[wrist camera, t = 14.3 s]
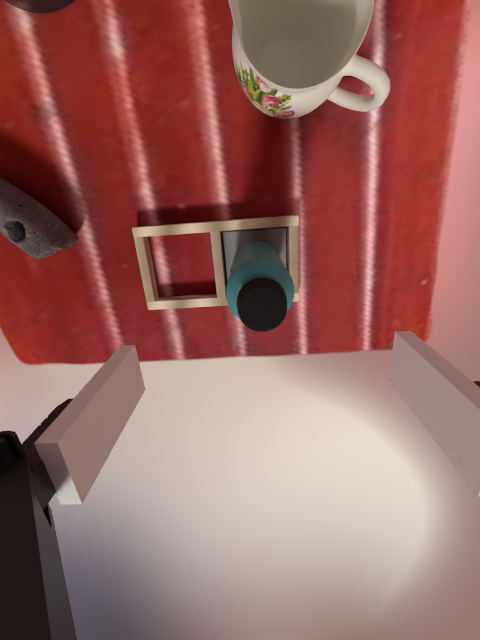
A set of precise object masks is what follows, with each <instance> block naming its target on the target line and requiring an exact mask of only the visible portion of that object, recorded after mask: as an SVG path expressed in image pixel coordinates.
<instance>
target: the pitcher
mask: <svg viewBox="0 0 480 640" xmlns="http://www.w3.org/2000/svg"><path fill="white" fill-rule="evenodd" d="M374 1H375V0H228V2H229V5H230V8H231V13H232V18H233V31H232V51H233V60H234V65H235V70H236V74H237V77H238V80H239V83H240V85H241V87H242V89H243V91H244V93H245V94H246V96H247V98H248V99H249V100H250V102H251V103H252V104H253V105H254V106H255V107H256V108H257V109H258V110H260V111H261V112H262V113H264V114H266V115H268V116H271V117H274V118H278V119H293V118H297V117H301V116H303V115H305V114H307V113H309V112H311V111H313V110H314V109H316V108H317V107H318V106H319V105H321V104H322V103H323V102H324V101H325V100H326V99H328V100H330V101H332V102H334V103H336V104H338V105H340V106H342V107H345V108H348V109H351V110H355V111H361V112H367V111H372V110H374V109H376V108H378V107H379V106H380V105H382V104H383V102H384V101H385V99H386V98H387V96H388V94H389V91H390V80H389V77H388V75H387V74H386V72H385V71H384V70H383V69H382V68H381V67H380V66H378V65H377V64H376V63H374V62H372V61H370V60H368V59H366V58H363V57H361V56H358V55H357V54H356V52H357V51H358V49H359V47H360V46H361V44H362V42H363V39H364V37H365V35H366V33H367V30H368V27H369V24H370V21H371V17H372V13H373V8H374ZM343 76H353V77H356V78H358V79H360V80H362V81H364V82H365V83H367V84H368V85H369V86H370V87H371V88H372V90H373V92H374V94H372V95H359V94H355V93H351V92H348V91H346V90H343V89H341V88H339V87H337V85H338V84H339V82H340V81H341V79H342V77H343Z"/></svg>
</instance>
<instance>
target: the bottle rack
mask: <svg viewBox="0 0 480 640" xmlns="http://www.w3.org/2000/svg"><path fill="white" fill-rule="evenodd" d="M285 226H287V233H288V272H289V274H290V276H291V278H292V280H293V283H294V299H293V302H294V301H299V216H298V215H288V216H275V217H261V218H248V219H235V220H221V221H208V222H194V223H181V224H168V225H154V226H141V227H134V228H132V231H133V236H134V241H135V246H136V251H137V256H138V261H139V266H140V271H141V276H142V281H143V286H144V291H145V296H146V301H147V306H148V310H155V309H173V308H190V307H207V306H225V305H228V302H227V298H226V280H225V269H224V258H223V247H222V236H221V231H230V230H244V229H257V228H271V227H285ZM202 232H210V234H211V243H212V253H213V262H214V272H215V281H216V291H217V294H206V295H190V296H173V297H159V295H158V289H157V284H156V278H155V273H154V267H153V262H152V257H151V251H150V246H149V240H148V236H161V235H175V234H188V233H202ZM223 239H224V250H225V261H226V272H227V283H228V280H229V278H228V277H229V276H230V269H231V267H232V266H231V264H232V263H233V258H234V256H235V254H236V253H235V252H236V251H237V249H239V248H240V247H241V246H242V245H244V244H245V243H247V242H250V241H254V240H255V241H259V240H260V241H263V242H266V241H267V242H266V243H268V242H269V243H268V244H270V245H271V246H272V247H273V246H274V247H275V248H274V247H273V248H274V249H275V250H276V252H277V254H278V255H279V257H280V256H281V257H280V259H281V260H282V262H283V264H284V266H285V268H286V228H271V229H258V230H244V231H230V232H223ZM257 239H258V240H257ZM238 247H239V248H238Z"/></svg>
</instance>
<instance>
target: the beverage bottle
mask: <svg viewBox="0 0 480 640" xmlns="http://www.w3.org/2000/svg"><path fill="white" fill-rule="evenodd" d="M257 240H258V239H257ZM266 242H267V241H266ZM266 242H263V241H260V240H259V241H255V240H254V241H250V242H247V243H245V244H244V245H242V246H241V247H240V248H239V247H238V248H239V249H237V251H236V252H235V253H236V254H235V256H234V258H233V263H232V264H231V266H232V267H231V269H230V276H229V277H228V278H229V280H228V283H227V287H226V298H227V302H228V305H229V307H230V309H231V310H232V312H233V313H234V314H235V315H236V316H237V317H238V318H240V319H241V321H242V322H243V323H244V324H245V325H246V326H247V327H248V328H250V329H252V330H255V331H261V332H263V331H269V330H272V329H274V328H276V327H277V326H279V325H280V324H281V323H282V321H283V320H284V318H285V316H286V313H287V311H288V310H289V308H290V307H291V305H292V302H293V299H294V283H293V280H292V278H291V276H290V274H289V272H288V271H287V269H286V268H285V266H284V264H283V262H282V260H281V259H280V257H281V256H280V257H279V255H278V254H277V252H276V250H275V249H274V248H275V247H274V246H273V247H274V248H273V247H272V246H271V245H270V244H268V243H269V242H268V243H266Z"/></svg>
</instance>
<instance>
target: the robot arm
mask: <svg viewBox="0 0 480 640" xmlns="http://www.w3.org/2000/svg"><path fill="white" fill-rule="evenodd" d="M5 1H7V2H8V3H10V4H12V5H13V6H15V7H17V8H20V9H23V10H26V11H29V12H35V13H49V12H54V11H57V10H60V9H62V8H64V7H66V6H68V5H69V4H70V3H72V2H73V1H74V0H5ZM389 381H390V382H391V383H392V384H393V386H394V387H395V388H396V390H397V391H398V392H399V394H400V395H401V396H402V398H403V399H404V400H405V401H406V403H407V404H408V405H409V407H410V408H411V409H412V411H413V412H414V413H415V415H416V416H417V417H418V418H419V420H420V421H421V422H422V424H423V425H424V426H425V427H426V429H427V430H428V432H429V433H430V434H431V435H432V437H433V438H434V439H435V441H436V442H437V443H438V445H439V446H440V447H441V448H442V450H443V451H444V452H445V454H446V455H447V456H448V458H449V459H450V460H451V462H452V463H453V464H454V466H455V467H456V468H457V469H458V471H459V472H460V473H461V475H462V476H463V477H464V479H465V480H466V481H467V482H468V484H469V485H470V486H471V488H472V489H473V490H474V492H475V493H476V494H477V496H480V382H479V381H474V382H472V381H471V380H470V379H469V378H468V377H466V376H465V375H464V374H463V373H461V372H460V371H459V370H458V369H457V368H455V367H454V366H453V365H452V364H451V363H449V362H448V361H447V360H446V359H444V358H443V357H442V356H441V355H439V354H438V353H437V352H436V351H435V350H434V349H432V348H431V347H430V346H428V345H427V344H426V343H425V342H424V341H423V340H421V339H420V338H419V337H418V336H417V335H415V334H414V333H413V332H412V331H401V332H395V336H394V343H393V350H392V358H391V365H390V372H389ZM144 391H145V387H144V382H143V378H142V374H141V369H140V365H139V361H138V356H137V352H136V348H135V345H126V346H120V347H119V348H118V349H117V350H116V351H115V353H114V354H113V355H112V356H111V357H110V358H109V359H108V361H107V362H106V363H105V364H104V365H103V366H102V367H101V368H100V370H99V371H98V372H97V373H96V374H95V375H94V376H93V377H92V379H91V380H90V381H89V382H88V383H87V384H86V385H85V387H84V388H83V389H82V390H81V391H80V392H79V394H78V395H77V396H76V397H75V398H74V399H68V400H66V401H65V402H63V403H62V404H60V405H59V406H57V407H56V408H55V409H54V410H53V411H52V412H51V413H50V414H49V416H48V418H46V419H45V420H44V421H43V422H42V423H41V425H40V426H38V427H37V428H36V429H35V430H34V432H33V433H32V434H31V435H30V436H29V437H28V438H27V439H26V440H25V441H24V442H23V444H21V443H20V441H19V438H18V436H17V434H16V433H15V432H13V431H2V432H0V640H77V638H76V633H75V628H74V623H73V618H72V613H71V607H70V602H69V597H68V593H67V587H66V582H65V577H64V572H63V567H62V562H61V557H60V552H59V547H58V542H57V537H56V531H55V526H54V521H53V516H52V511H51V508H50V506H49V504H48V503H49V501H50V500H51V498H52V497H53V495H54V494H55V493H56V495H57V497H58V499H59V502H60V504H82V503H83V501H84V499H85V497H86V496H87V494H88V492H89V490H90V488H91V487H92V485H93V483H94V481H95V479H96V477H97V476H98V474H99V472H100V470H101V468H102V467H103V465H104V463H105V461H106V459H107V458H108V456H109V454H110V452H111V450H112V449H113V447H114V445H115V443H116V441H117V440H118V438H119V436H120V433H121V432H122V430H123V429H124V427H125V425H126V423H127V421H128V420H129V418H130V416H131V414H132V412H133V411H134V409H135V407H136V405H137V403H138V401H139V400H140V398H141V396H142V394H143V393H144Z"/></svg>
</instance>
